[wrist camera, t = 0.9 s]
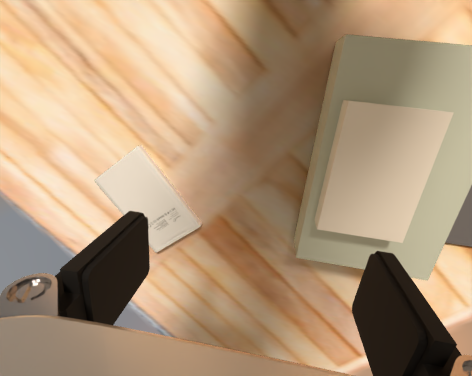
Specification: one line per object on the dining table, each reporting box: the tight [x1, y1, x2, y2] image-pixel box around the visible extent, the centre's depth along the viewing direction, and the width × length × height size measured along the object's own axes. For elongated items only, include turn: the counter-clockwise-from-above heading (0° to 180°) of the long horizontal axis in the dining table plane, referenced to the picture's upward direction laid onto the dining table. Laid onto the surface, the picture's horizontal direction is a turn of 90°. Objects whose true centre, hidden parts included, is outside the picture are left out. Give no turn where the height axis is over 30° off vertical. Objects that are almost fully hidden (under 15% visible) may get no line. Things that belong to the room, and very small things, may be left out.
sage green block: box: [294, 34, 472, 280], centre depth 27 cm, size 22×14×4 cm, turn 174°
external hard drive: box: [94, 145, 202, 253], centre depth 34 cm, size 2×8×12 cm
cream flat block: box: [314, 100, 453, 243], centre depth 24 cm, size 12×8×2 cm, turn 174°
